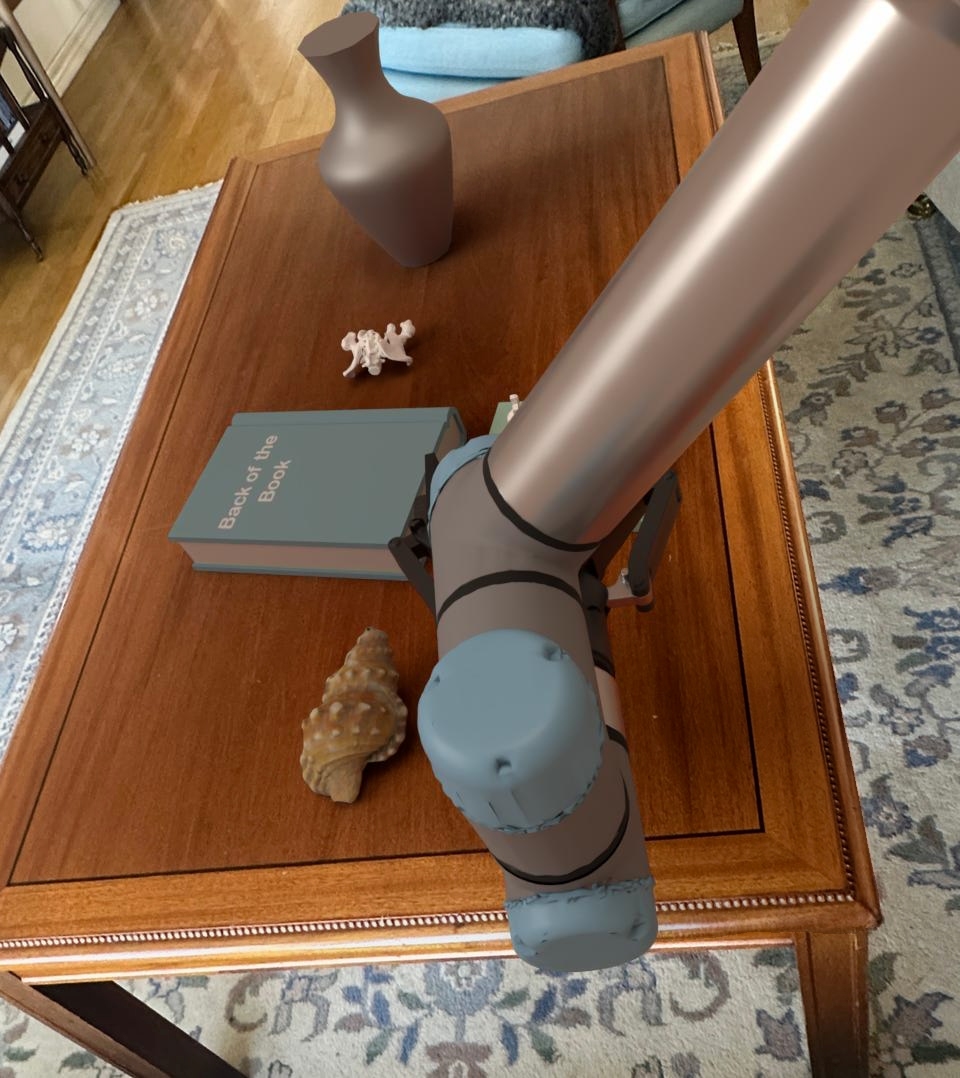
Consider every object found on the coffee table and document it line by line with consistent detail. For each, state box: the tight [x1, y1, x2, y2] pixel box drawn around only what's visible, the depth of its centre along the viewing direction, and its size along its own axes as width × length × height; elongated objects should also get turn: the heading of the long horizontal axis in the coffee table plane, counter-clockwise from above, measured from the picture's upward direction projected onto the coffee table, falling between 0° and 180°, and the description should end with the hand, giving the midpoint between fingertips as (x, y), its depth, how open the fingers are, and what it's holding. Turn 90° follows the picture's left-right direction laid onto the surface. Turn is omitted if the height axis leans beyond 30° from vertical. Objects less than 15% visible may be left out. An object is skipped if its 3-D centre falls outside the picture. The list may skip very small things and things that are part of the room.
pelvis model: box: [340, 319, 416, 379], centre depth 99 cm, size 8×4×7 cm
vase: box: [296, 10, 454, 269], centre depth 103 cm, size 14×14×25 cm
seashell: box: [299, 626, 409, 804], centre depth 71 cm, size 9×8×10 cm
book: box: [166, 406, 468, 582], centre depth 88 cm, size 23×16×5 cm
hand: (522, 442), depth 72 cm, fingers open, 13 cm apart
